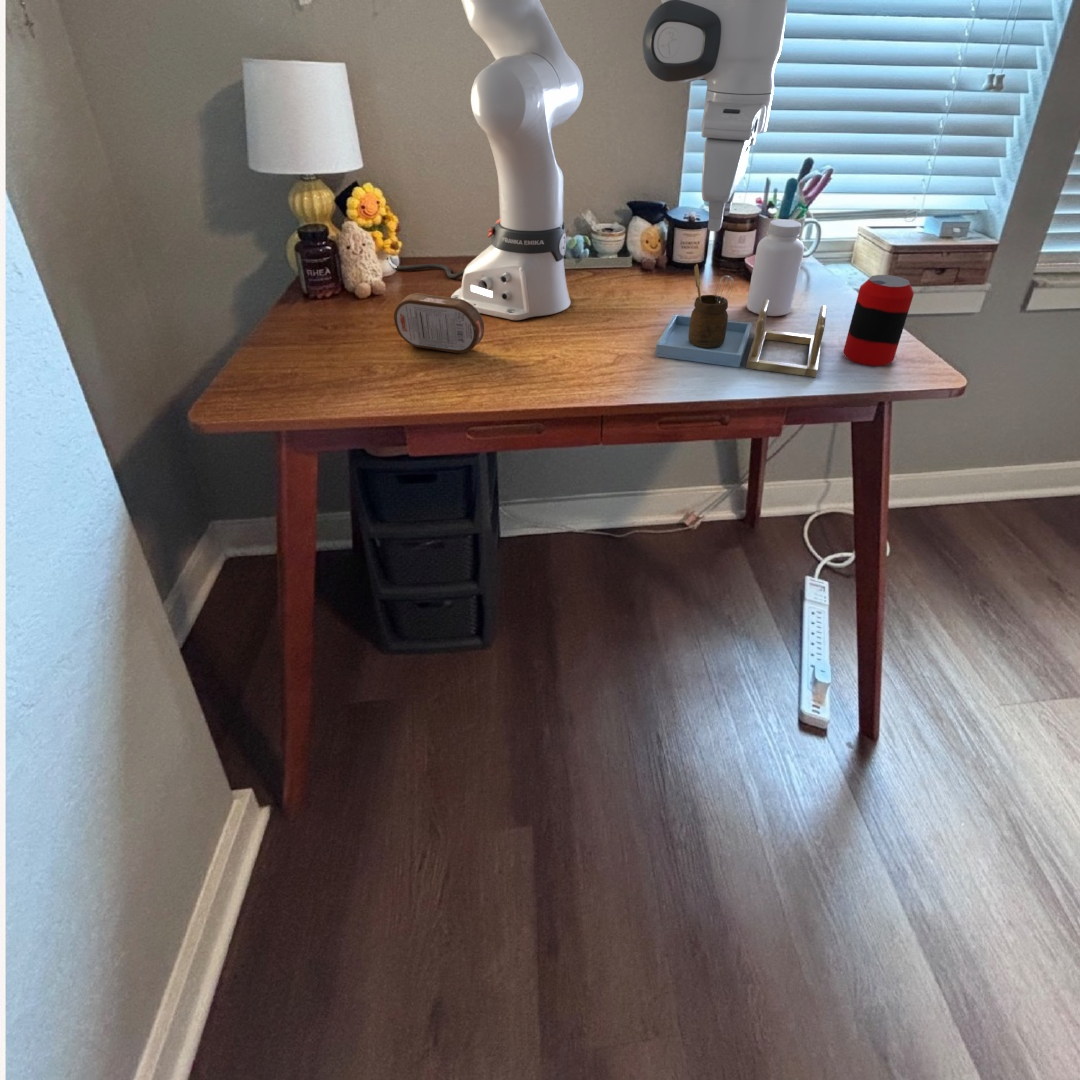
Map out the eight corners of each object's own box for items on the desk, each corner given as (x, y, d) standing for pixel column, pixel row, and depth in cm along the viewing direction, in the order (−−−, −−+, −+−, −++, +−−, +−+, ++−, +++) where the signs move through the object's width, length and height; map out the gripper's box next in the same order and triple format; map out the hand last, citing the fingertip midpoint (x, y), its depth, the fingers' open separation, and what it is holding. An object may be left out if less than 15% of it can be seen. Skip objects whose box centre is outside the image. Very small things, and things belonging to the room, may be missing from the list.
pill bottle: (792, 318, 128) (811, 229, 119) (746, 315, 129) (761, 227, 120) (789, 303, 134) (807, 218, 125) (745, 300, 136) (759, 215, 127)
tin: (486, 350, 117) (483, 299, 112) (478, 358, 115) (475, 306, 110) (403, 339, 121) (397, 289, 116) (394, 346, 119) (388, 295, 114)
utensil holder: (719, 351, 115) (731, 275, 108) (681, 345, 117) (690, 270, 110) (728, 338, 120) (740, 264, 112) (691, 333, 122) (700, 259, 114)
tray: (655, 356, 115) (656, 344, 114) (672, 325, 126) (674, 314, 125) (739, 367, 112) (741, 355, 110) (749, 334, 122) (751, 323, 121)
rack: (745, 368, 112) (753, 323, 107) (755, 335, 122) (763, 293, 118) (815, 377, 109) (826, 332, 104) (819, 343, 119) (830, 300, 115)
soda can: (832, 352, 116) (851, 276, 109) (868, 344, 119) (889, 270, 111) (867, 370, 111) (889, 291, 103) (904, 361, 113) (928, 284, 106)
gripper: (723, 104, 108) (709, 204, 116) (700, 124, 92) (685, 237, 101) (766, 107, 106) (748, 208, 114) (750, 127, 91) (731, 242, 99)
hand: (719, 222), depth 107 cm, fingers open, 8 cm apart
